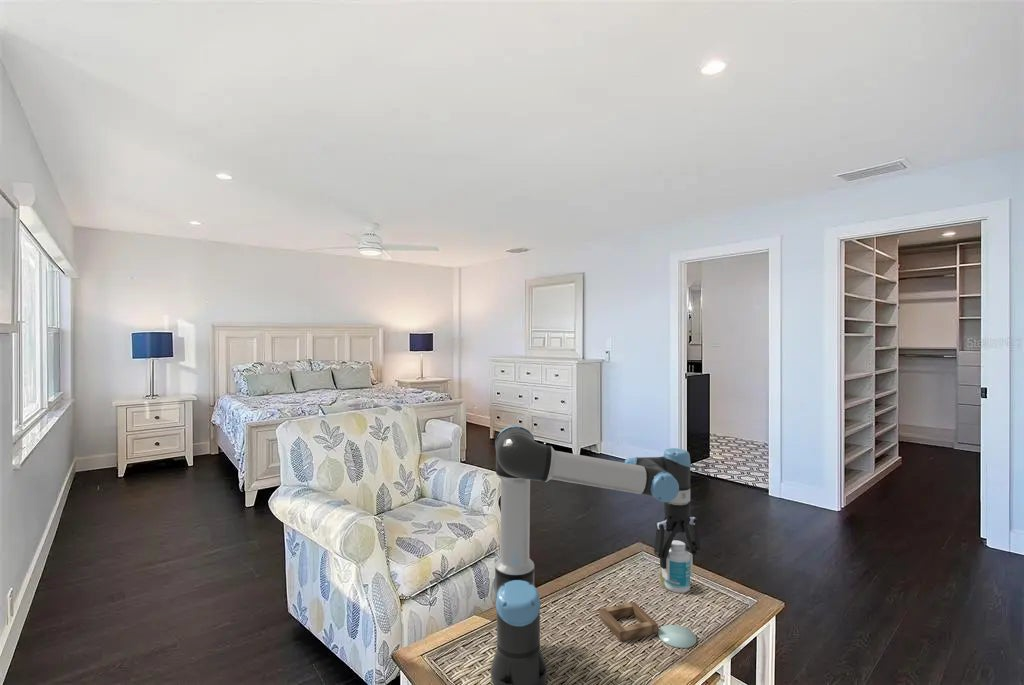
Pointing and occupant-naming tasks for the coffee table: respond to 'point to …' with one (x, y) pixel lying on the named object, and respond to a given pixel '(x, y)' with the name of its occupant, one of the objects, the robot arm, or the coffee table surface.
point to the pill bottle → (678, 568)
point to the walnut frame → (632, 631)
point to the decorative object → (662, 580)
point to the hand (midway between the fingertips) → (677, 575)
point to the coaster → (677, 636)
